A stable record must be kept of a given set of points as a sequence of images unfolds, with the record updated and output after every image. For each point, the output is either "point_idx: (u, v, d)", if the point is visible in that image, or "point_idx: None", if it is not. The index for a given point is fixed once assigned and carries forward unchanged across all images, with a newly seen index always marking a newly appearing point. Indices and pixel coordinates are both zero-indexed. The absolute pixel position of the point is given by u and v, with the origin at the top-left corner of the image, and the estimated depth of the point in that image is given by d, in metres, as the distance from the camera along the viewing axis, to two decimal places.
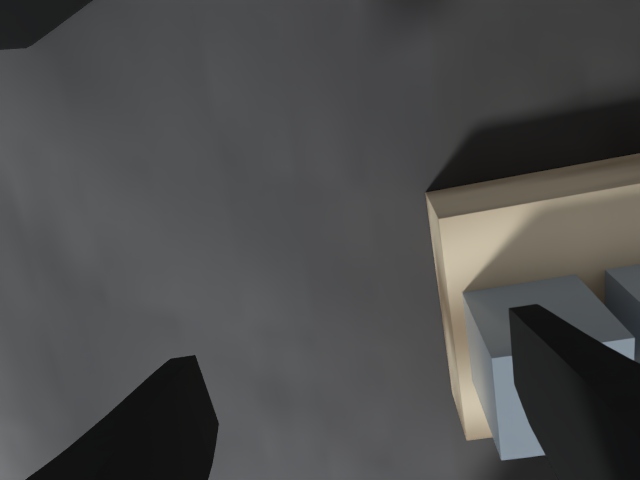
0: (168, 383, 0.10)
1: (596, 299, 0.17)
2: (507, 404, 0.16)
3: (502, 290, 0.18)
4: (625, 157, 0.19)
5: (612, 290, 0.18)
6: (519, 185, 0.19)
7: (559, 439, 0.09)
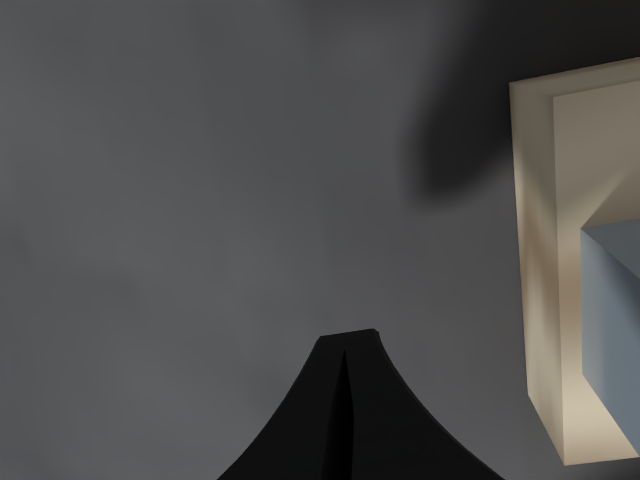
0: (340, 358, 0.10)
1: None
2: None
3: None
4: None
5: None
6: None
7: None
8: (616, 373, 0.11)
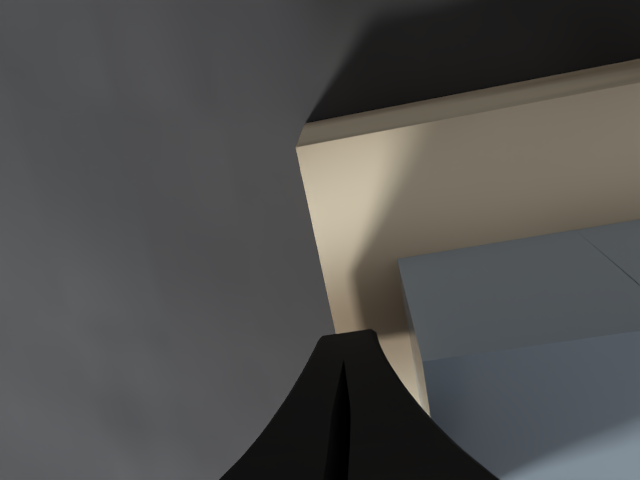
0: (342, 358, 0.10)
1: (609, 263, 0.10)
2: None
3: (458, 254, 0.12)
4: (598, 68, 0.13)
5: None
6: (435, 105, 0.13)
7: None
8: (422, 399, 0.11)
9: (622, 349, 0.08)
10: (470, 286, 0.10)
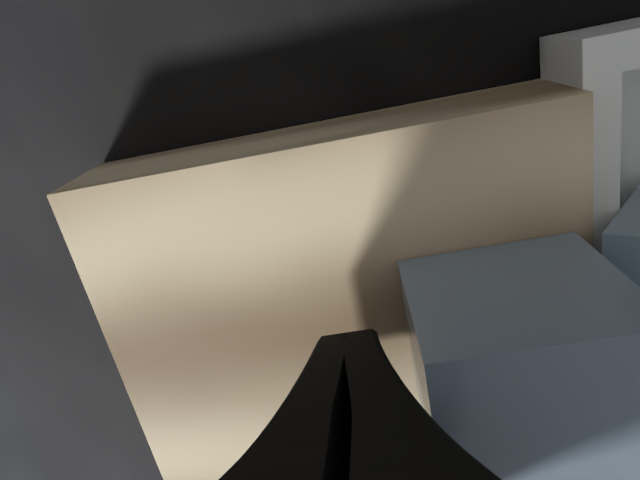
0: (342, 358, 0.10)
1: (610, 265, 0.10)
2: None
3: (459, 256, 0.12)
4: (366, 113, 0.14)
5: (631, 259, 0.11)
6: (206, 150, 0.13)
7: None
8: (422, 401, 0.11)
9: (623, 352, 0.08)
10: (471, 288, 0.10)
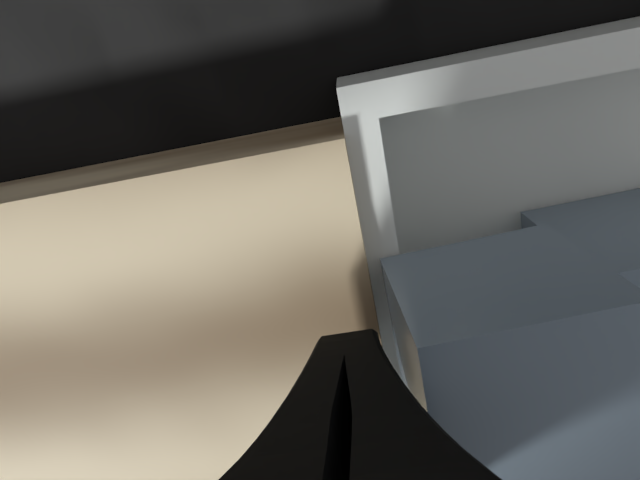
0: (342, 358, 0.10)
1: (581, 251, 0.11)
2: (449, 428, 0.09)
3: (439, 251, 0.12)
4: (179, 149, 0.14)
5: None
6: (21, 185, 0.14)
7: None
8: None
9: (602, 326, 0.09)
10: (454, 277, 0.11)
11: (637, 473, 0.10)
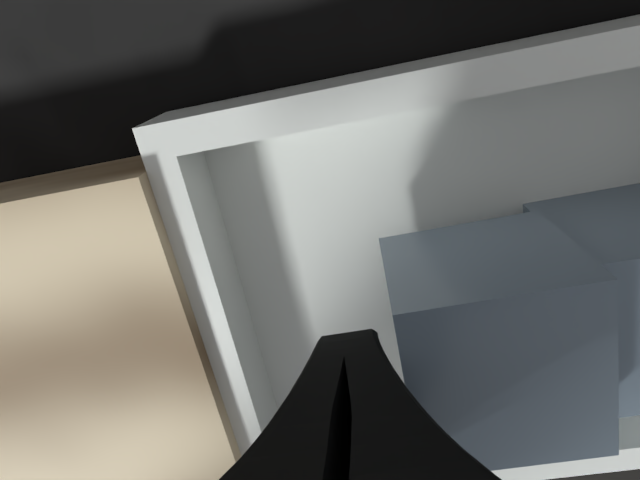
0: (342, 358, 0.10)
1: (563, 235, 0.11)
2: (423, 390, 0.10)
3: (433, 233, 0.13)
4: (22, 179, 0.15)
5: None
6: None
7: None
8: None
9: (565, 303, 0.09)
10: (440, 256, 0.11)
11: (604, 444, 0.10)
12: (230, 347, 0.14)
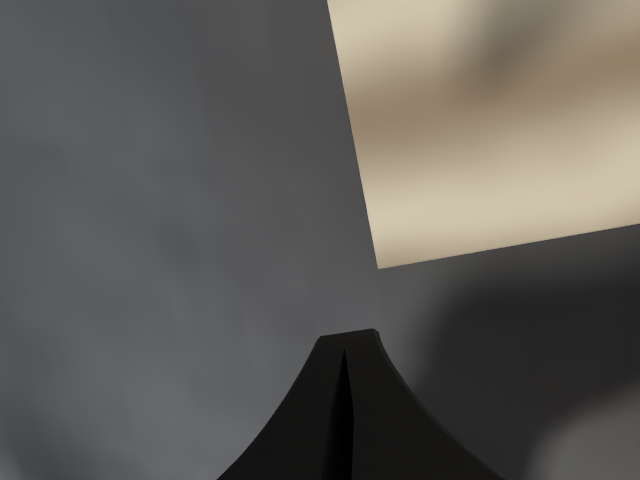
0: (340, 358, 0.10)
1: None
2: None
3: None
4: None
5: None
6: None
7: None
8: None
9: None
10: None
11: None
12: None
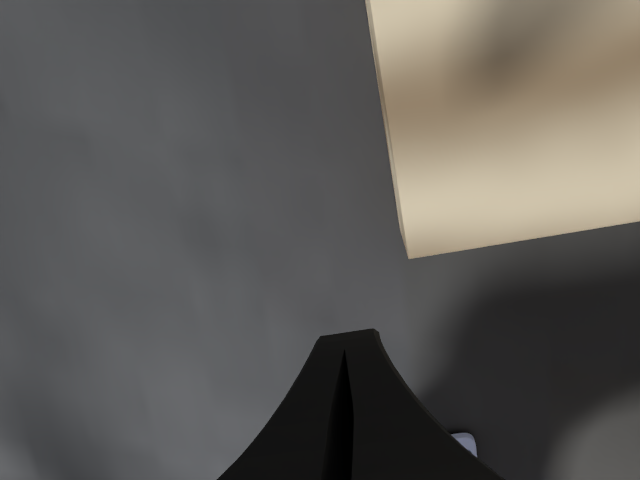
0: (340, 358, 0.10)
1: None
2: None
3: None
4: None
5: None
6: None
7: None
8: None
9: None
10: None
11: None
12: None
